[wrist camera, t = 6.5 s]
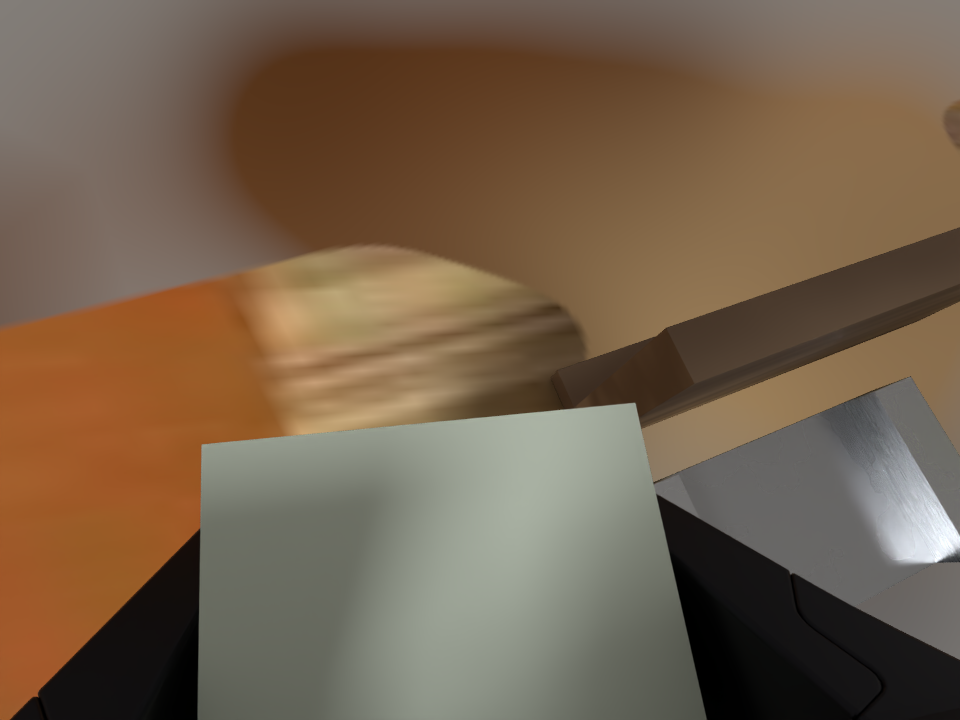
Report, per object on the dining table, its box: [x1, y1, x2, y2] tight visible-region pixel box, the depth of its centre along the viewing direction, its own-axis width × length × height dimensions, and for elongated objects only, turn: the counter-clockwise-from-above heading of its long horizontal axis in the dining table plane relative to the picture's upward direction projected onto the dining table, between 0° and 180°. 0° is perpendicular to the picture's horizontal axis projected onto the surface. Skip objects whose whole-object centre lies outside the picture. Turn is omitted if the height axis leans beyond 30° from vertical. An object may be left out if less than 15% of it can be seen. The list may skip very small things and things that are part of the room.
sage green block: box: [198, 403, 707, 720], centre depth 11 cm, size 4×6×10 cm
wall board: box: [551, 228, 960, 429], centre depth 22 cm, size 3×18×9 cm, turn 112°
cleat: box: [653, 376, 960, 606], centre depth 23 cm, size 7×14×2 cm, turn 111°
